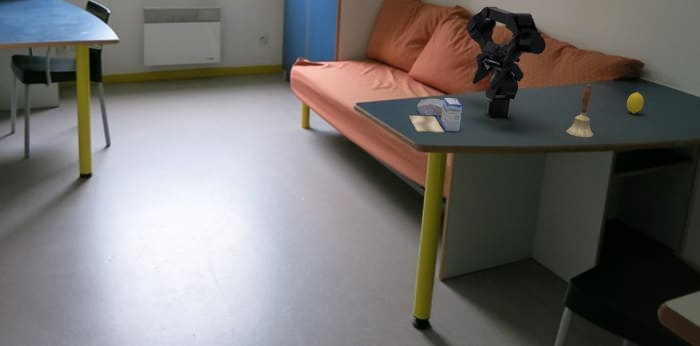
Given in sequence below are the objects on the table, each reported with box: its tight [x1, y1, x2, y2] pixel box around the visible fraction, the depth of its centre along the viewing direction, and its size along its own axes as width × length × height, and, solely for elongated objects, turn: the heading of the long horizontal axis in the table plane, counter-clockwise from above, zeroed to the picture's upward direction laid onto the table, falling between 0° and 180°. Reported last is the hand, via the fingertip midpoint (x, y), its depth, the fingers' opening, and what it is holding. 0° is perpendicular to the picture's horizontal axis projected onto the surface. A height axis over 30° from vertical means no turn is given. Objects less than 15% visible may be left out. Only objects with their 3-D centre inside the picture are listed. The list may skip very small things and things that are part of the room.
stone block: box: [416, 98, 444, 117], centre depth 247 cm, size 12×5×10 cm
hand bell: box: [565, 84, 594, 139], centre depth 230 cm, size 8×8×16 cm
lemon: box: [626, 91, 645, 115], centre depth 261 cm, size 6×6×8 cm
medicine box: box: [440, 97, 463, 132], centre depth 228 cm, size 8×4×9 cm, turn 5°
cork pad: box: [408, 115, 445, 134], centre depth 231 cm, size 8×17×1 cm, turn 4°
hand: (481, 86), depth 231 cm, fingers open, 9 cm apart
